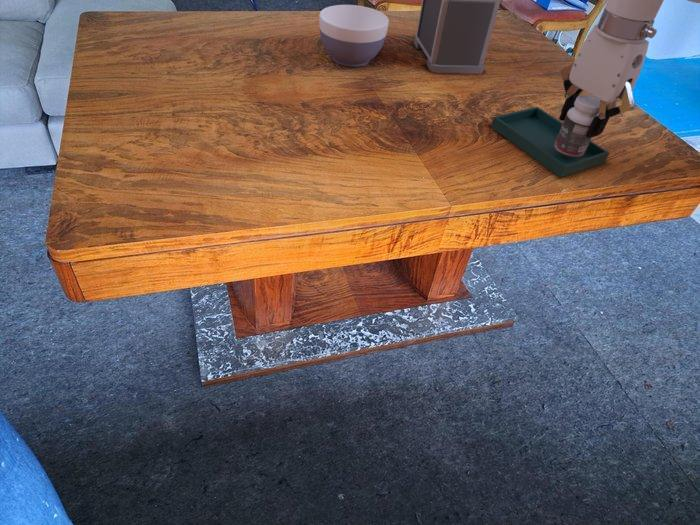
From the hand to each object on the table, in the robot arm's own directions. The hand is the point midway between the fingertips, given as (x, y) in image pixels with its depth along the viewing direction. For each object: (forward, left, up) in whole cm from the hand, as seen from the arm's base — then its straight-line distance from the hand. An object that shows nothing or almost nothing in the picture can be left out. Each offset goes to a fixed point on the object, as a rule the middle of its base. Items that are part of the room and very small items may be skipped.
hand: (579, 126), depth 93 cm
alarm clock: (+46, -7, -7) cm, 47 cm away
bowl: (+53, +17, -7) cm, 56 cm away
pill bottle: (0, 0, -5) cm, 5 cm away
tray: (+5, 0, -7) cm, 8 cm away
